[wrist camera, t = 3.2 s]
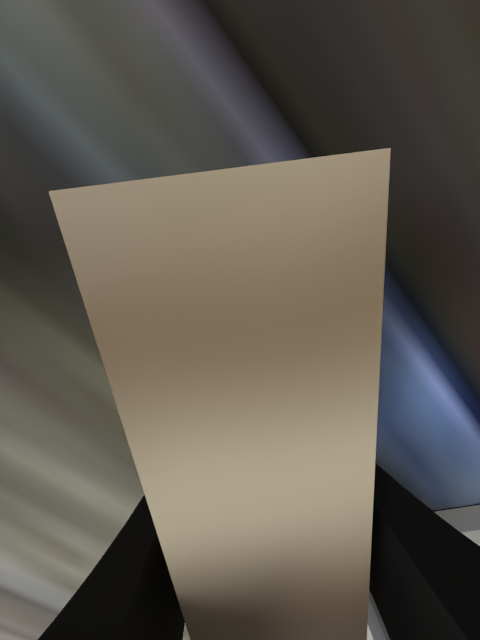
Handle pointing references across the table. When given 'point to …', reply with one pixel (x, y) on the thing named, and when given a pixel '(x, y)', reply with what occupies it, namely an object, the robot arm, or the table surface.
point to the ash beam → (247, 378)
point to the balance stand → (468, 520)
